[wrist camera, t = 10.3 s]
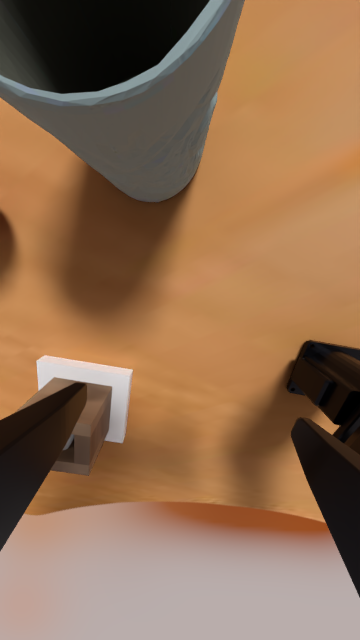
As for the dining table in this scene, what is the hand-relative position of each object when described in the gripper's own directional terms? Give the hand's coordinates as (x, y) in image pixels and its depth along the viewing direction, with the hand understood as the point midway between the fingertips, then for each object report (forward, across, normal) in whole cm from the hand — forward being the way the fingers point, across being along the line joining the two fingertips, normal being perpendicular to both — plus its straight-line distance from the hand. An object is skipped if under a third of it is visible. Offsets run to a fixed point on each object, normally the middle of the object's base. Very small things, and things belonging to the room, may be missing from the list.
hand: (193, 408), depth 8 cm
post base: (+12, +10, +12) cm, 20 cm away
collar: (+11, +10, +12) cm, 19 cm away
